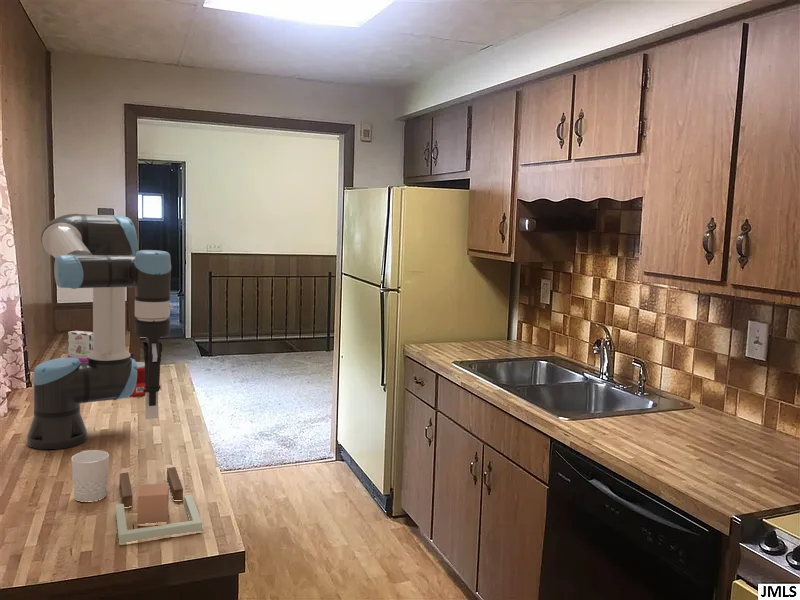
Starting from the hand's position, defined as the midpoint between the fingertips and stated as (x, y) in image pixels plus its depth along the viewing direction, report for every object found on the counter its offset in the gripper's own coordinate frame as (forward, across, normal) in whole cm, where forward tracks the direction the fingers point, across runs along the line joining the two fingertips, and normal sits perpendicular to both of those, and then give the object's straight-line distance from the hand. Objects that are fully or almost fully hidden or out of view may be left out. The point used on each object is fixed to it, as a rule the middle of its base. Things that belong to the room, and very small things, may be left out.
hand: (151, 417), depth 153 cm
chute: (+19, +2, 0) cm, 19 cm away
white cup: (+20, +4, +13) cm, 24 cm away
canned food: (+21, +90, -3) cm, 92 cm away
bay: (+19, -14, 0) cm, 24 cm away
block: (+19, -13, +1) cm, 23 cm away
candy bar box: (+21, +127, +14) cm, 129 cm away
